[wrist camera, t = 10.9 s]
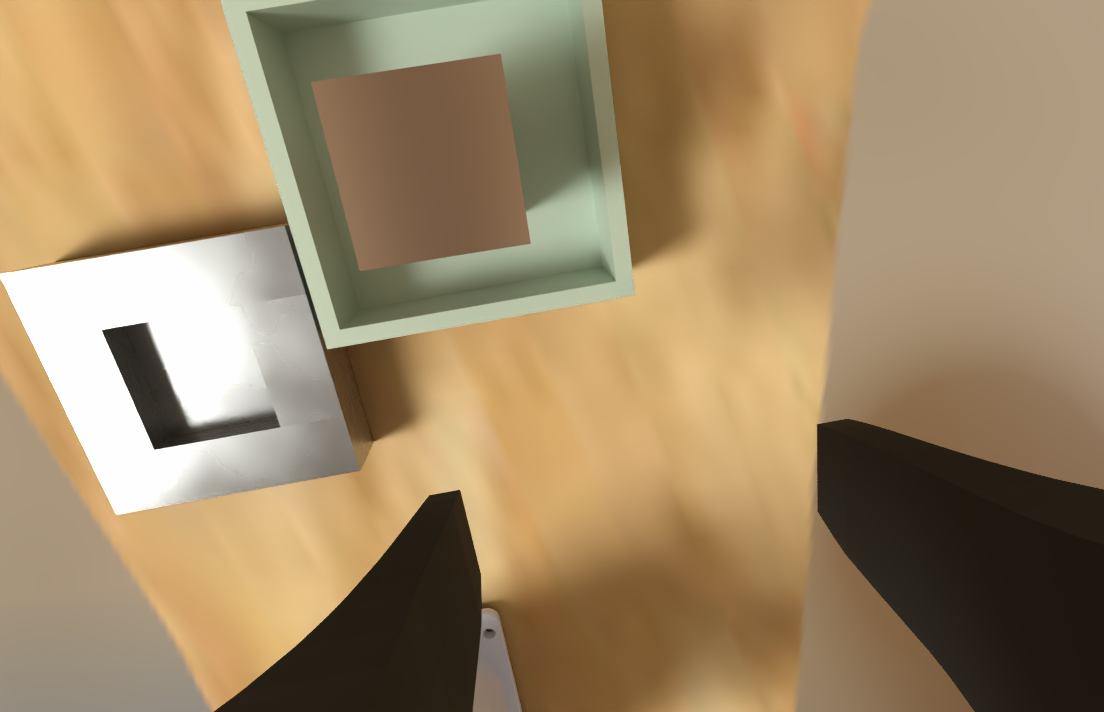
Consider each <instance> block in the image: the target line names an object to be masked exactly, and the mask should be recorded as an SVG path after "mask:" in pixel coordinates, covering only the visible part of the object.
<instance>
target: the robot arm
mask: <svg viewBox="0 0 1104 712" xmlns="http://www.w3.org/2000/svg"><path fill="white" fill-rule="evenodd" d="M817 474H818V513H819V514H820V516H821V517H822V519H823V521H824V522H825V524H826V525H827V527H828V529H829V530H830V532H831V533H832V535H833V536H834V538H835V539H836V541H837V542H838V544H839V545H840V546H841V548H842V550H843V551H844V553H845V554H846V555H847V556H848V558H849V559H850V560H851V561H852V562H853V564H854V565H855V566H856V567H857V568H858V570H859V571H860V572H861V573H862V574H863V575H864V576H865V578H866V579H867V580H868V581H869V582H870V583H871V585H872V586H873V587H874V588H875V589H876V591H877V592H878V593H879V594H880V595H881V596H882V597H883V599H884V600H885V601H886V602H887V603H888V604H889V605H890V606H891V608H892V609H893V610H894V611H895V612H896V613H897V614H898V616H899V617H900V618H901V619H902V620H903V621H904V622H905V624H906V625H907V626H908V627H909V628H910V630H911V631H912V632H913V633H914V634H915V635H916V636H917V638H918V639H919V640H920V641H921V642H922V643H923V645H924V646H925V647H926V648H927V649H928V650H929V651H930V653H931V654H932V655H933V656H934V658H935V659H936V660H937V661H938V663H939V664H940V665H941V666H942V667H943V669H944V670H945V671H946V672H947V674H948V675H949V676H950V678H951V679H952V681H953V682H954V683H955V685H956V686H957V688H958V689H959V690H960V692H961V693H962V694H963V696H964V697H965V699H966V700H967V701H968V703H969V704H970V706H971V707H972V708H973V710H974V711H975V712H1104V490H1103V489H1098V488H1093V487H1089V486H1085V485H1080V484H1075V483H1070V482H1066V481H1062V480H1057V479H1053V478H1049V477H1045V476H1041V475H1037V474H1033V473H1029V472H1026V471H1022V470H1018V469H1015V468H1011V467H1007V466H1004V465H1000V464H997V463H993V462H989V461H986V460H983V459H979V458H976V457H972V456H969V455H966V454H963V453H959V452H956V451H953V450H950V449H947V448H944V447H940V446H937V445H934V444H931V443H928V442H925V441H922V440H919V439H915V438H912V437H909V436H906V435H903V434H900V433H897V432H894V431H891V430H887V429H884V428H881V427H877V426H874V425H871V424H867V423H863V422H859V421H855V420H850V419H844V420H839V421H833V422H828V423H822V424H817ZM487 629H493V631H491V632H488V631H485V630H487ZM214 712H522V708H521V704H520V700H519V696H518V692H517V687H516V683H515V679H514V675H513V671H512V667H511V663H510V658H509V654H508V650H507V646H506V642H505V638H504V633H503V629H502V625H501V621H500V617H499V614H498V612H497V611H495V610H494V609H491V608H484V609H482V600H481V573H480V569H479V565H478V561H477V557H476V553H475V549H474V545H473V541H472V537H471V532H470V528H469V524H468V520H467V516H466V512H465V508H464V504H463V500H462V496H461V492H460V490H457V491H451V492H446V493H440V494H435V495H429V497H428V498H427V499H426V500H425V502H424V503H423V504H422V505H421V507H420V508H419V509H418V511H417V512H416V513H415V515H414V516H413V517H412V519H411V520H410V521H409V523H408V524H407V525H406V526H405V528H404V529H403V530H402V532H401V533H400V534H399V536H398V537H397V538H396V539H395V541H394V542H393V543H392V545H391V546H390V547H389V548H388V550H387V551H386V552H385V553H384V555H383V556H382V557H381V558H380V560H379V561H378V562H377V563H376V564H375V565H374V566H373V568H372V569H371V570H370V571H369V572H368V573H367V574H366V576H365V577H364V578H363V579H362V580H361V581H360V582H359V583H358V585H357V586H356V587H355V588H354V589H353V590H352V591H351V593H350V594H349V595H348V596H347V597H346V598H345V599H344V600H343V601H342V602H341V603H340V604H339V605H338V606H337V607H336V608H335V609H334V610H333V611H332V612H331V613H330V614H329V615H328V616H327V617H326V618H325V619H324V620H323V621H322V622H321V623H320V624H319V625H318V626H317V627H316V628H315V629H314V630H313V631H312V632H311V633H310V634H309V635H307V636H306V637H305V638H304V639H303V640H302V641H301V642H300V643H299V644H298V645H297V646H295V647H294V648H293V649H292V650H291V651H290V652H288V653H287V654H286V655H285V656H283V657H282V658H281V659H280V660H279V661H277V662H276V663H275V664H274V665H273V666H271V667H270V668H269V669H268V670H267V671H265V672H264V673H263V674H262V675H261V676H259V677H258V678H257V679H256V680H255V681H253V682H252V683H251V684H250V685H248V686H247V687H246V688H245V689H243V690H242V691H241V692H240V693H238V694H237V695H236V696H234V697H233V698H232V699H230V700H229V701H228V702H226V703H225V704H224V705H222V706H221V707H220V708H218V709H217V710H215V711H214Z"/></svg>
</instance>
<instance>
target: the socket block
mask: <svg viewBox="0 0 1104 712" xmlns="http://www.w3.org/2000/svg"><path fill="white" fill-rule="evenodd" d="M0 277H1V279H2V281H3V283H4V285H5V287H6V289H7V291H8V293H9V296H10V298H11V300H12V302H13V304H14V306H15V308H16V310H17V312H18V314H19V316H20V318H21V320H22V322H23V324H24V326H25V328H26V330H27V332H28V335H29V337H30V339H31V341H32V343H33V345H34V347H35V349H36V351H37V353H38V355H39V357H40V359H41V361H42V363H43V365H44V367H45V369H46V372H47V374H48V376H49V378H50V380H51V382H52V384H53V386H54V388H55V390H56V392H57V394H58V396H59V398H60V400H61V402H62V404H63V406H64V408H65V411H66V413H67V415H68V417H69V419H70V421H71V423H72V425H73V427H74V429H75V431H76V433H77V435H78V437H79V439H80V441H81V443H82V445H83V448H84V450H85V452H86V454H87V456H88V458H89V460H90V462H91V464H92V466H93V468H94V470H95V472H96V474H97V476H98V478H99V480H100V482H101V484H102V487H103V489H104V491H105V493H106V495H107V497H108V499H109V501H110V503H111V505H112V507H113V509H114V511H115V513H116V515H119V514H124V513H130V512H135V511H141V510H146V509H152V508H157V507H163V506H168V505H174V504H179V503H185V502H190V501H196V500H201V499H207V498H212V497H218V496H223V495H229V494H234V493H240V492H245V491H251V490H256V489H262V488H267V487H273V486H278V485H284V484H289V483H295V482H300V481H306V480H311V479H317V478H322V477H328V476H333V475H339V474H344V473H350V472H355V471H360V470H361V468H362V466H363V464H364V462H365V460H366V457H367V455H368V453H369V451H370V449H371V447H372V444H373V439H372V436H371V433H370V429H369V426H368V422H367V419H366V416H365V412H364V409H363V405H362V402H361V399H360V395H359V392H358V389H357V385H356V382H355V378H354V375H353V372H352V368H351V365H350V362H349V358H348V355H347V351H346V348H345V346H344V347H338V348H332V349H327V347H326V343H325V340H324V337H323V334H322V330H321V327H320V324H319V321H318V317H317V314H316V311H315V308H314V304H313V301H312V298H311V295H310V291H309V288H308V285H307V282H306V278H305V275H304V272H303V269H302V265H301V262H300V259H299V256H298V252H297V249H296V246H295V243H294V239H293V236H292V233H291V229H290V226H289V223H283V224H277V225H271V226H265V227H260V228H254V229H248V230H242V231H236V232H230V233H224V234H218V235H213V236H207V237H201V238H195V239H189V240H183V241H177V242H171V243H166V244H160V245H154V246H148V247H142V248H136V249H130V250H124V251H119V252H113V253H107V254H101V255H95V256H89V257H83V258H77V259H72V260H66V261H60V262H54V263H49V264H45V265H40V266H35V267H31V268H26V269H22V270H17V271H13V272H8V273H4V274H0Z"/></svg>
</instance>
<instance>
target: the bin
mask: <svg viewBox="0 0 1104 712" xmlns="http://www.w3.org/2000/svg"><path fill="white" fill-rule="evenodd" d="M220 1H221V5H222V8H223V11H224V15H225V18H226V21H227V24H228V28H229V31H230V34H231V37H232V41H233V44H234V47H235V50H236V54H237V57H238V60H239V63H240V67H241V70H242V73H243V76H244V80H245V83H246V86H247V89H248V93H249V96H250V99H251V102H252V106H253V109H254V112H255V115H256V119H257V122H258V125H259V129H260V132H261V135H262V138H263V142H264V145H265V148H266V151H267V155H268V158H269V161H270V164H271V168H272V171H273V174H274V177H275V181H276V184H277V187H278V190H279V194H280V197H281V200H282V203H283V207H284V210H285V213H286V216H287V220H288V223H289V226H290V229H291V233H292V236H293V239H294V243H295V246H296V249H297V252H298V256H299V259H300V262H301V265H302V269H303V272H304V275H305V278H306V282H307V285H308V288H309V291H310V295H311V298H312V301H313V304H314V308H315V311H316V314H317V317H318V321H319V324H320V327H321V330H322V334H323V337H324V340H325V343H326V347H327V349H332V348H338V347H344V346H349V345H355V344H361V343H367V342H372V341H378V340H384V339H389V338H395V337H401V336H406V335H412V334H418V333H423V332H429V331H435V330H440V329H446V328H452V327H457V326H463V325H469V324H474V323H480V322H486V321H491V320H497V319H503V318H508V317H514V316H520V315H526V314H531V313H537V312H543V311H548V310H554V309H560V308H565V307H571V306H577V305H582V304H588V303H594V302H599V301H605V300H611V299H616V298H622V297H628V296H633V295H635V289H634V281H633V272H632V263H631V254H630V245H629V236H628V228H627V219H626V210H625V201H624V192H623V184H622V175H621V166H620V157H619V148H618V139H617V131H616V122H615V113H614V104H613V95H612V87H611V78H610V69H609V60H608V51H607V42H606V34H605V25H604V16H603V7H602V0H220ZM495 54H501V58H502V64H503V71H504V77H505V83H506V90H507V96H508V102H509V109H510V115H511V121H512V128H513V134H514V140H515V147H516V153H517V159H518V166H519V172H520V178H521V185H522V191H523V197H524V204H525V210H526V216H527V223H528V229H529V235H530V241H531V244H526V245H520V246H514V247H507V248H501V249H495V250H489V251H482V252H476V253H470V254H464V255H457V256H451V257H445V258H439V259H433V260H426V261H420V262H414V263H408V264H401V265H395V266H389V267H383V268H376V269H370V270H364V271H360V270H359V266H358V262H357V258H356V254H355V250H354V247H353V243H352V239H351V235H350V231H349V227H348V224H347V220H346V216H345V212H344V208H343V204H342V201H341V197H340V193H339V189H338V185H337V181H336V178H335V174H334V170H333V166H332V162H331V158H330V155H329V151H328V147H327V143H326V139H325V135H324V132H323V128H322V124H321V120H320V116H319V112H318V109H317V105H316V101H315V97H314V93H313V89H312V85H311V82H315V81H322V80H328V79H335V78H342V77H348V76H355V75H362V74H368V73H375V72H382V71H388V70H395V69H402V68H408V67H415V66H422V65H428V64H435V63H442V62H448V61H455V60H462V59H468V58H475V57H482V56H488V55H495Z"/></svg>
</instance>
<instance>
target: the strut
mask: <svg viewBox="0 0 1104 712" xmlns="http://www.w3.org/2000/svg"><path fill="white" fill-rule="evenodd" d="M311 85H312V89H313V93H314V97H315V101H316V105H317V109H318V112H319V116H320V120H321V124H322V128H323V132H324V135H325V139H326V143H327V147H328V151H329V155H330V158H331V162H332V166H333V170H334V174H335V178H336V181H337V185H338V189H339V193H340V197H341V201H342V204H343V208H344V212H345V216H346V220H347V224H348V227H349V231H350V235H351V239H352V243H353V247H354V250H355V254H356V258H357V262H358V266H359V270H360V271H364V270H370V269H376V268H383V267H389V266H395V265H401V264H408V263H414V262H420V261H426V260H433V259H439V258H445V257H451V256H457V255H464V254H470V253H476V252H482V251H489V250H495V249H501V248H507V247H514V246H520V245H526V244H531V241H530V235H529V229H528V223H527V216H526V210H525V204H524V197H523V191H522V185H521V178H520V172H519V166H518V159H517V153H516V147H515V140H514V134H513V128H512V121H511V115H510V109H509V102H508V96H507V90H506V83H505V77H504V71H503V64H502V58H501V54H495V55H488V56H482V57H475V58H468V59H462V60H455V61H448V62H442V63H435V64H428V65H422V66H415V67H408V68H402V69H395V70H388V71H382V72H375V73H368V74H362V75H355V76H348V77H342V78H335V79H328V80H322V81H315V82H311Z"/></svg>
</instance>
